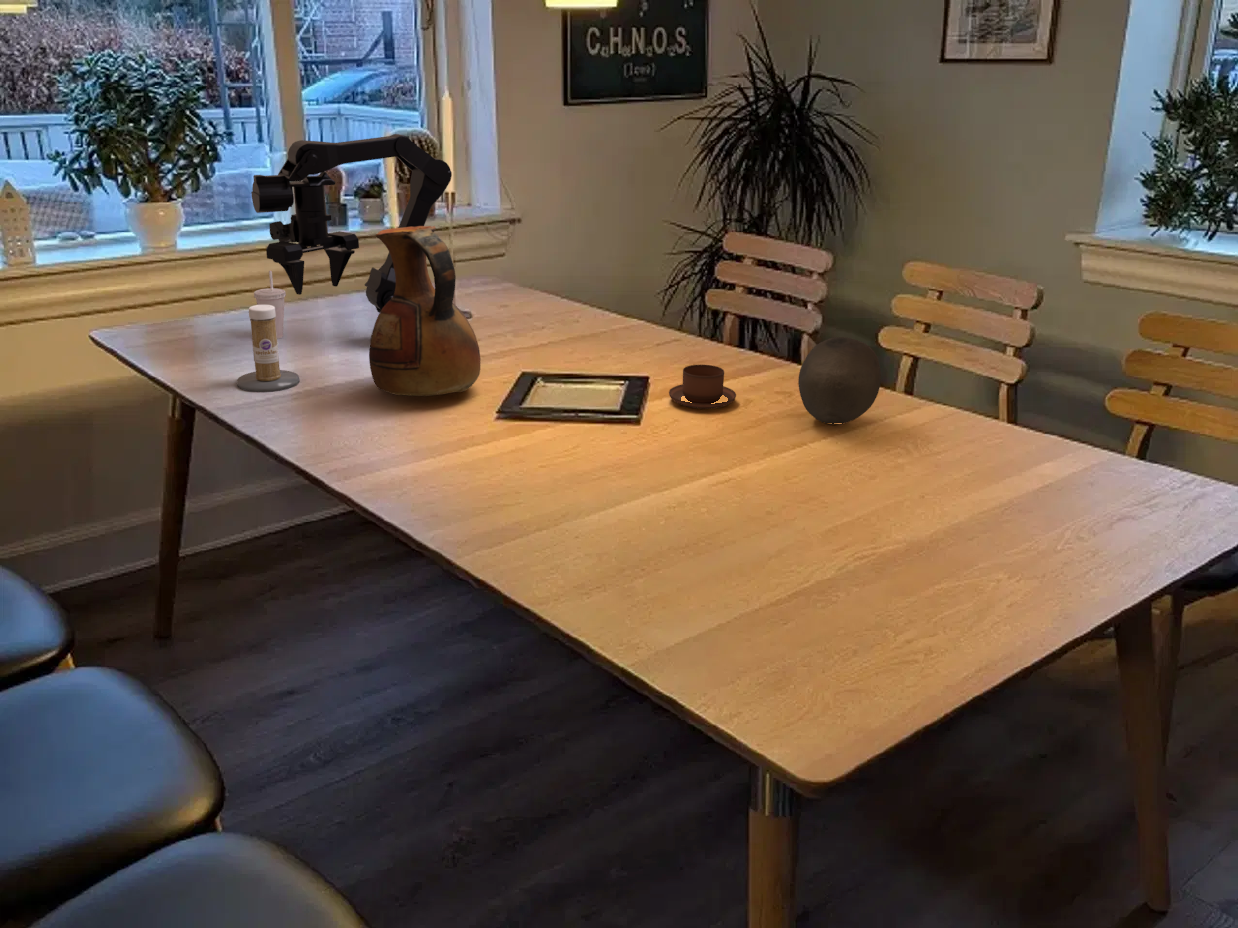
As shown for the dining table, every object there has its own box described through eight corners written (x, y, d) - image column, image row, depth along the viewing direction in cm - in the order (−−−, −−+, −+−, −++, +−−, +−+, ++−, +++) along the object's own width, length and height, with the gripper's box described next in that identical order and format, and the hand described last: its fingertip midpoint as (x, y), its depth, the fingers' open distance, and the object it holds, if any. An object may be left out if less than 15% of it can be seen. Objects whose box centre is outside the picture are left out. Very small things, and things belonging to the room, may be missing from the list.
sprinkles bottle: (260, 383, 202) (253, 310, 197) (252, 377, 206) (244, 305, 201) (285, 379, 205) (278, 307, 200) (276, 373, 208) (269, 302, 203)
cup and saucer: (654, 402, 200) (655, 369, 198) (699, 388, 208) (700, 357, 205) (704, 419, 192) (706, 384, 190) (749, 404, 200) (751, 371, 198)
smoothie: (284, 341, 232) (278, 274, 226) (253, 340, 232) (246, 273, 226) (293, 333, 237) (287, 268, 232) (263, 332, 238) (257, 267, 232)
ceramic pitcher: (430, 369, 215) (423, 213, 204) (504, 391, 203) (502, 226, 192) (348, 392, 201) (336, 225, 190) (423, 417, 189) (415, 241, 178)
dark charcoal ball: (776, 420, 192) (783, 335, 186) (835, 406, 199) (843, 324, 194) (835, 444, 181) (844, 355, 175) (895, 429, 188) (905, 343, 183)
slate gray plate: (309, 376, 209) (308, 372, 209) (283, 393, 199) (283, 389, 199) (254, 372, 211) (253, 368, 211) (226, 389, 201) (225, 385, 201)
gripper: (319, 200, 224) (325, 277, 230) (243, 211, 210) (251, 292, 215) (358, 205, 218) (363, 284, 224) (283, 217, 204) (290, 301, 210)
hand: (317, 290), depth 218 cm, fingers open, 9 cm apart
